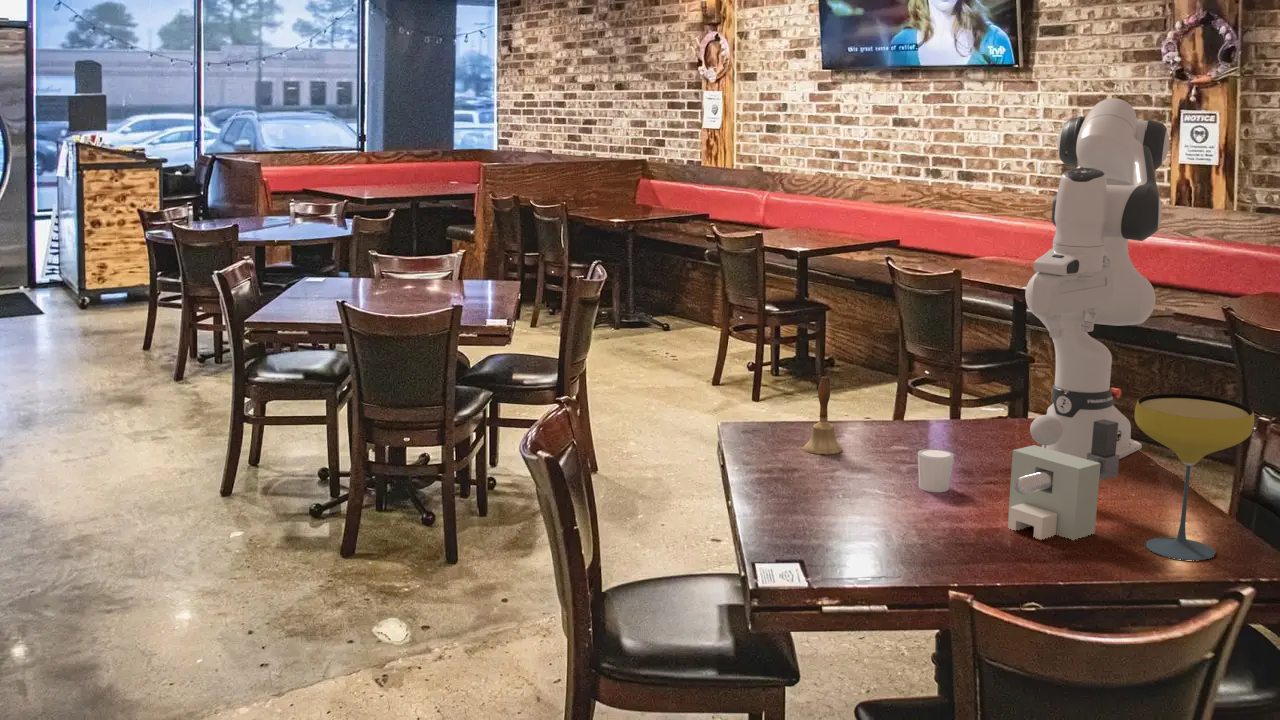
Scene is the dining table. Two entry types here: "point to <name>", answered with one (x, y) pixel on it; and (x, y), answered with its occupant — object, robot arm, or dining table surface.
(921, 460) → the white cup
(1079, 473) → the grey slotted block
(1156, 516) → the dining table surface
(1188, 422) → the cocktail glass
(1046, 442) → the lollipop
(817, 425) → the hand bell
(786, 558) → the dining table surface
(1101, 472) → the hammer
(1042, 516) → the block
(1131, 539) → the dining table surface
